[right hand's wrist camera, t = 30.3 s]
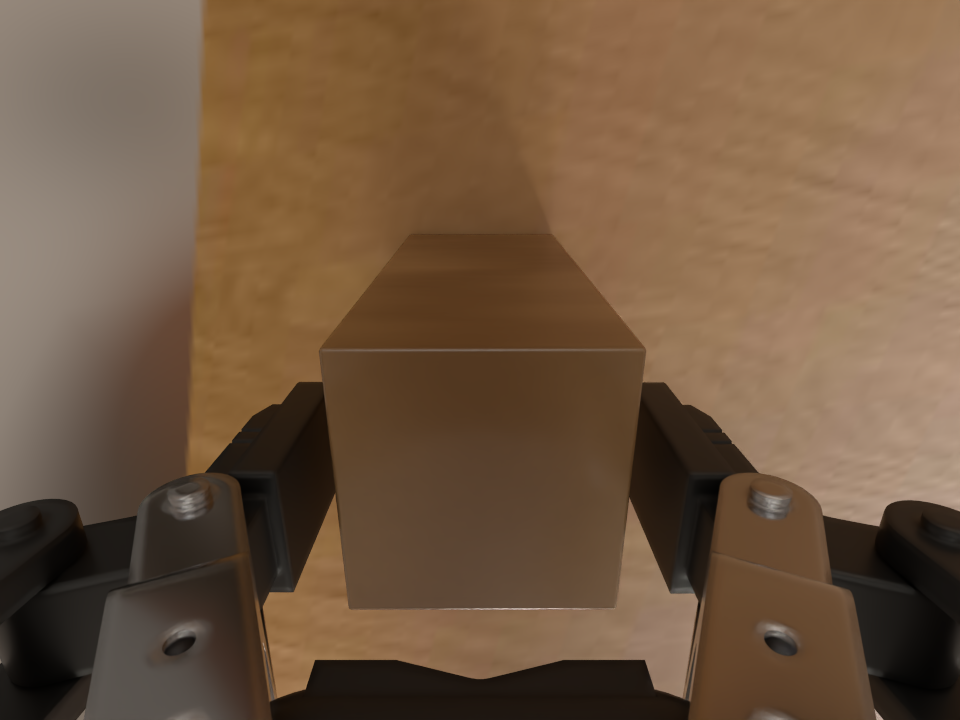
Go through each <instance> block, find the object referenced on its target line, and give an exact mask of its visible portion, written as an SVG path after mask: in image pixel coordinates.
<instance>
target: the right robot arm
mask: <svg viewBox="0 0 960 720" xmlns="http://www.w3.org/2000/svg"><path fill="white" fill-rule="evenodd" d="M731 442H732V441H731V440H730V439H729V438H728V436H727V435H726V434H725V433H722V429H721V428H720V427H719V426H718V425H717V424H716V422H715V421H714V420H713V419H712V418H711V417H710V416H709V415H707V414H705V413H704V412H702V411H700V410H698V409H697V408H695V407H693V406H691V405H682V404H681V403H680V401H679V400H678V399H677V397H676V396H675V395H674V394H673V392H672V391H671V390H670V389H669V387H668V386H667V385H666V384H665V383H642V391H641V399H640V408H639V417H638V425H637V434H636V443H635V451H634V460H633V468H632V477H631V486H630V494H629V497H630V500H631V502H632V504H633V507H634V509H635V511H636V514H637V516H638V519H639V521H640V523H641V526H642V528H643V530H644V533H645V535H646V537H647V540H648V542H649V544H650V547H651V549H652V551H653V554H654V556H655V558H656V561H657V563H658V565H659V568H660V570H661V573H662V575H663V577H664V580H665V582H666V584H667V587H668V589H669V591H670V593H695V595H696V597H697V599H698V606H697V611H696V617H695V622H694V629H693V635H692V641H691V648H690V654H689V660H688V667H687V673H686V679H685V686H684V692H683V698H680V697H677V696H674V695H671V694H669V693H666V692H662V691H658V690H654V687H653V684H652V681H651V678H650V675H649V672H648V669H647V665H646V662H645V660H562V661H558V662H554V663H550V664H546V665H542V666H538V667H533V668H529V669H525V670H521V671H517V672H513V673H509V674H505V675H501V676H497V677H492V678H488V679H472V678H468V677H463V676H459V675H455V674H451V673H447V672H443V671H439V670H435V669H431V668H427V667H422V666H418V665H414V664H410V663H406V662H402V661H398V660H315V662H314V665H313V669H312V672H311V675H310V678H309V681H308V684H307V687H306V690H302V691H298V692H294V693H291V694H289V695H286V696H283V697H280V698H277V692H276V686H275V679H274V673H273V667H272V660H271V654H270V648H269V641H268V635H267V629H266V622H265V617H264V611H263V605H264V603H265V600H266V598H267V596H268V594H269V592H294V590H295V587H296V585H297V583H298V580H299V578H300V575H301V573H302V571H303V568H304V566H305V564H306V561H307V559H308V556H309V554H310V552H311V549H312V547H313V544H314V542H315V540H316V537H317V535H318V532H319V530H320V528H321V525H322V523H323V521H324V518H325V516H326V513H327V511H328V509H329V506H330V504H331V501H332V499H333V497H334V494H335V484H334V476H333V467H332V459H331V450H330V441H329V433H328V424H327V416H326V407H325V398H324V390H323V382H299V383H297V384H296V386H295V387H294V388H293V390H292V391H291V392H290V393H289V395H288V396H287V397H286V399H285V400H284V401H283V402H282V404H272V405H271V406H269V407H267V408H266V409H264V410H262V411H260V412H259V413H257V414H255V415H254V416H252V418H251V419H250V420H249V421H248V422H247V423H246V425H245V426H244V427H243V428H242V432H239V433H238V434H237V435H236V437H235V438H234V439H233V440H232V443H230V444H229V445H228V446H227V447H226V448H225V450H224V451H223V452H222V453H221V454H220V455H219V457H218V458H217V459H216V460H215V461H214V463H213V464H212V465H211V466H210V467H209V469H208V470H207V471H206V472H205V473H200V474H194V475H189V476H185V477H182V478H179V479H176V480H173V481H171V482H169V483H166V484H164V485H162V486H161V487H159V488H157V489H156V490H154V491H153V492H151V493H150V494H149V495H148V496H147V497H146V498H145V499H144V500H143V501H142V503H141V504H140V506H139V509H138V514H137V516H133V517H128V518H123V519H118V520H113V521H107V522H102V523H96V524H92V525H86V526H83V524H82V521H81V518H80V515H79V512H78V509H77V507H76V505H75V504H73V503H72V502H70V501H67V500H62V499H43V500H37V501H31V502H27V503H23V504H19V505H16V506H13V507H10V508H7V509H4V510H2V511H0V659H1V661H2V663H1V664H0V720H76V719H77V718H78V717H79V716H80V715H81V713H82V712H83V711H84V710H85V709H86V710H85V715H84V720H876V715H875V710H876V711H877V712H878V713H879V715H880V716H881V717H882V718H883V719H884V720H960V512H959V511H957V510H954V509H951V508H948V507H945V506H941V505H938V504H933V503H929V502H922V501H912V500H907V501H897V502H894V503H891V504H889V505H888V506H887V507H886V509H885V511H884V514H883V517H882V520H881V523H880V526H879V527H878V526H873V525H867V524H862V523H857V522H852V521H846V520H841V519H836V518H831V517H827V516H823V514H822V509H821V506H820V504H819V503H818V501H817V500H816V499H815V498H814V497H813V496H812V495H811V494H810V493H809V492H807V491H806V490H804V489H803V488H801V487H799V486H798V485H796V484H794V483H791V482H789V481H787V480H784V479H781V478H778V477H775V476H771V475H766V474H760V473H758V472H757V470H756V469H755V468H754V467H753V466H752V465H751V463H750V462H749V461H748V460H747V459H746V458H745V456H744V455H743V454H742V453H741V452H740V451H739V449H738V448H737V447H736V446H735V445H734V444H732V443H731ZM874 709H875V710H874Z"/></svg>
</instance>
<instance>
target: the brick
mask: <svg viewBox="0 0 960 720" xmlns="http://www.w3.org/2000/svg"><path fill="white" fill-rule="evenodd" d="M319 355H320V364H321V373H322V381H323V390H324V398H325V407H326V416H327V424H328V433H329V441H330V450H331V459H332V467H333V476H334V484H335V493H336V502H337V510H338V519H339V528H340V536H341V545H342V553H343V562H344V571H345V579H346V588H347V596H348V605H349V608H350V609H351V610H584V609H615V608H616V606H617V598H618V589H619V581H620V572H621V563H622V555H623V546H624V537H625V529H626V520H627V512H628V503H629V494H630V486H631V477H632V468H633V460H634V451H635V443H636V434H637V425H638V417H639V408H640V399H641V391H642V382H643V374H644V365H645V356H646V349H645V347H644V346H643V345H642V344H641V342H640V341H639V340H638V339H637V337H636V336H635V335H634V334H633V333H632V331H631V330H630V329H629V328H628V326H627V325H626V324H625V323H624V322H623V320H622V319H621V318H620V317H619V315H618V314H617V313H616V312H615V311H614V309H613V308H612V307H611V306H610V304H609V303H608V302H607V301H606V300H605V298H604V297H603V296H602V295H601V293H600V292H599V291H598V290H597V289H596V287H595V286H594V285H593V284H592V282H591V281H590V280H589V279H588V278H587V276H586V275H585V274H584V273H583V271H582V270H581V269H580V268H579V267H578V265H577V264H576V263H575V262H574V260H573V259H572V258H571V257H570V256H569V254H568V253H567V252H566V251H565V249H564V248H563V247H562V246H561V245H560V243H559V242H558V241H557V240H556V238H555V237H554V236H553V235H552V234H434V235H409V237H408V238H407V239H406V240H405V242H404V243H403V244H402V246H401V247H400V248H399V249H398V251H397V252H396V253H395V254H394V256H393V257H392V258H391V259H390V261H389V262H388V263H387V264H386V266H385V267H384V268H383V270H382V271H381V272H380V273H379V275H378V276H377V277H376V278H375V280H374V281H373V282H372V283H371V285H370V286H369V287H368V288H367V290H366V291H365V292H364V294H363V295H362V296H361V297H360V299H359V300H358V301H357V302H356V304H355V305H354V306H353V307H352V309H351V310H350V311H349V313H348V314H347V315H346V316H345V318H344V319H343V320H342V321H341V323H340V324H339V325H338V326H337V328H336V329H335V330H334V331H333V333H332V334H331V335H330V337H329V338H328V339H327V340H326V342H325V343H324V344H323V345H322V347H321V348H320V350H319Z"/></svg>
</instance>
